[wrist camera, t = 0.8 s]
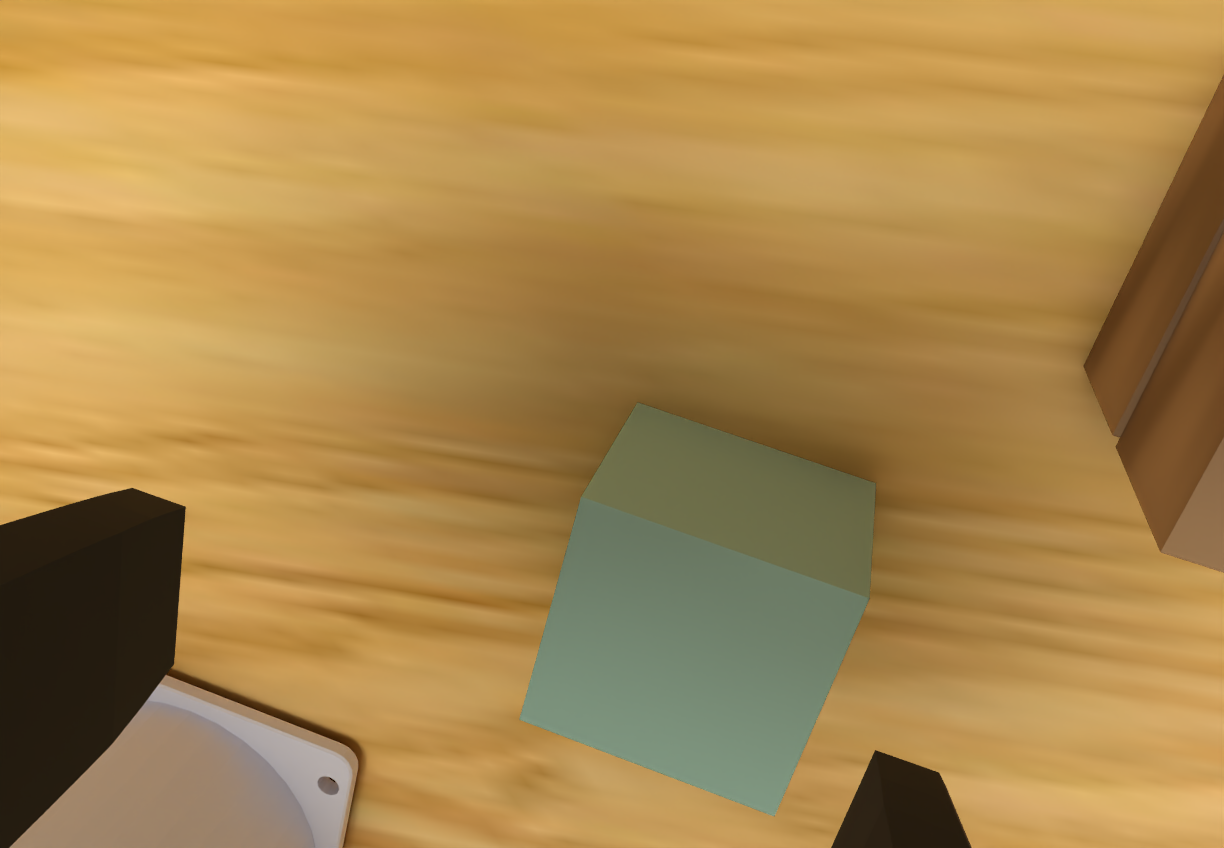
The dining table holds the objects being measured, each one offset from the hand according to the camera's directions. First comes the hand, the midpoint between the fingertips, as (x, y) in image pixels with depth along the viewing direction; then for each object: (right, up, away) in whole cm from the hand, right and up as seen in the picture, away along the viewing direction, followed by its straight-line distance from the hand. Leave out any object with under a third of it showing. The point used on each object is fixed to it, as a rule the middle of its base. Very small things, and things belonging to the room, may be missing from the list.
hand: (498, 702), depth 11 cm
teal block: (+3, 0, +10) cm, 11 cm away
